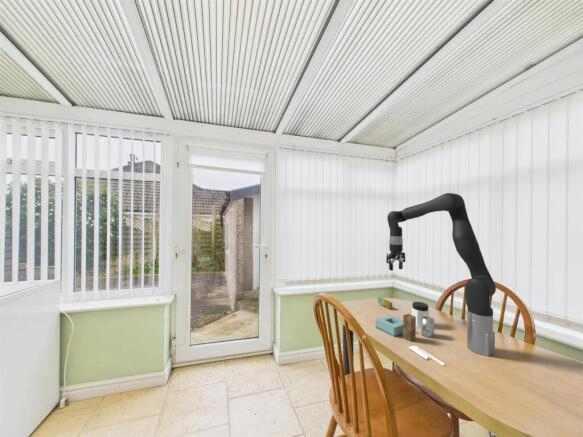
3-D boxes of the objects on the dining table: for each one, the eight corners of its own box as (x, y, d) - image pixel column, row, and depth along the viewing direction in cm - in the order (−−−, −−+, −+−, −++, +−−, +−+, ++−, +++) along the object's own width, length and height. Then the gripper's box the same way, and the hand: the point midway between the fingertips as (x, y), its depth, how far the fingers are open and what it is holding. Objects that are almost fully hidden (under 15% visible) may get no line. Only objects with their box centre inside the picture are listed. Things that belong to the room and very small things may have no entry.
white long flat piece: (436, 366, 96) (437, 363, 96) (408, 348, 110) (408, 345, 110) (446, 366, 97) (446, 363, 97) (416, 348, 111) (417, 345, 111)
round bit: (436, 337, 122) (436, 319, 122) (429, 339, 119) (429, 322, 119) (425, 332, 127) (425, 315, 127) (418, 334, 124) (419, 317, 124)
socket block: (409, 332, 127) (409, 322, 127) (394, 337, 121) (394, 327, 121) (390, 323, 138) (390, 314, 138) (375, 327, 132) (375, 318, 132)
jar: (425, 329, 130) (425, 308, 130) (409, 324, 136) (410, 304, 136) (430, 324, 136) (430, 304, 136) (415, 320, 142) (415, 300, 142)
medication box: (377, 303, 171) (377, 297, 171) (381, 302, 172) (380, 297, 172) (389, 309, 160) (389, 303, 159) (393, 308, 160) (392, 302, 160)
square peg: (415, 340, 118) (415, 316, 118) (410, 342, 117) (410, 318, 117) (408, 336, 122) (408, 313, 122) (403, 338, 120) (403, 315, 120)
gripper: (393, 244, 139) (393, 272, 139) (409, 243, 146) (409, 269, 146) (382, 243, 146) (382, 269, 146) (398, 242, 153) (398, 267, 153)
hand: (395, 269), depth 146 cm, fingers open, 8 cm apart
